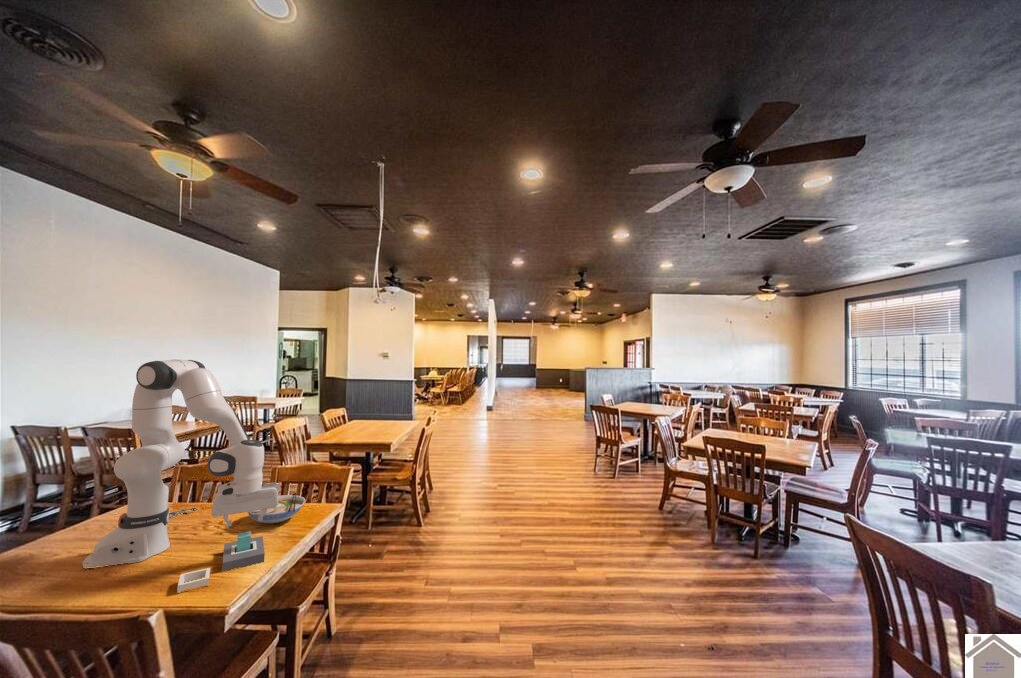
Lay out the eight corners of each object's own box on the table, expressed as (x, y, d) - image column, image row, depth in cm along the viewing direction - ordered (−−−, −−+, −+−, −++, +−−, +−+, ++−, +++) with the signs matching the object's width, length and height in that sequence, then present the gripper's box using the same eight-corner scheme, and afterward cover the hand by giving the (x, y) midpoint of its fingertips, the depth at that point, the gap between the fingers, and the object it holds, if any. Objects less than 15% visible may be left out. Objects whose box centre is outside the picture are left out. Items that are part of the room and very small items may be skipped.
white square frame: (177, 594, 116) (177, 585, 117) (180, 582, 122) (180, 574, 123) (208, 586, 121) (208, 578, 121) (209, 575, 127) (210, 567, 127)
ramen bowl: (250, 514, 177) (251, 496, 177) (306, 507, 186) (307, 490, 187) (238, 536, 154) (240, 516, 155) (302, 527, 164) (303, 508, 164)
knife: (136, 534, 152) (115, 531, 153) (135, 538, 152) (115, 534, 153) (203, 508, 180) (185, 505, 181) (203, 512, 180) (185, 509, 181)
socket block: (222, 571, 129) (222, 561, 129) (223, 552, 142) (224, 542, 142) (264, 562, 136) (264, 552, 136) (262, 543, 149) (262, 535, 149)
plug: (236, 561, 136) (237, 538, 136) (236, 556, 139) (237, 533, 140) (249, 558, 138) (251, 535, 139) (249, 553, 142) (250, 531, 142)
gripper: (279, 479, 149) (277, 515, 148) (214, 486, 137) (210, 526, 136) (281, 483, 144) (278, 521, 143) (213, 492, 132) (209, 533, 131)
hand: (244, 523), depth 140 cm, fingers open, 8 cm apart
